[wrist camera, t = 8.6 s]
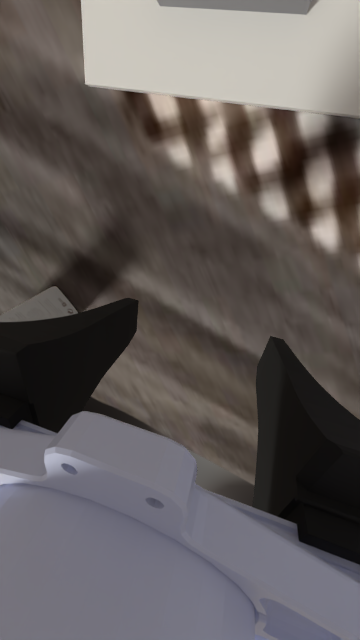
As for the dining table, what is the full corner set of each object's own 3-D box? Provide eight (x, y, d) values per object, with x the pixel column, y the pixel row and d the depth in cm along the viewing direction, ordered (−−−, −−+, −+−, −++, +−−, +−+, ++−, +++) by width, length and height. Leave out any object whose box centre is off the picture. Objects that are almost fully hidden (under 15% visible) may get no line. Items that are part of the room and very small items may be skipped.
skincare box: (55, 283, 26) (-74, 346, 16) (82, 315, 27) (-20, 394, 17) (27, 306, 29) (-96, 373, 19) (53, 334, 30) (-49, 411, 20)
